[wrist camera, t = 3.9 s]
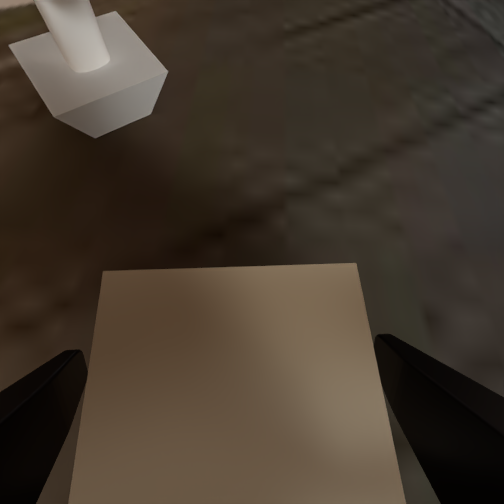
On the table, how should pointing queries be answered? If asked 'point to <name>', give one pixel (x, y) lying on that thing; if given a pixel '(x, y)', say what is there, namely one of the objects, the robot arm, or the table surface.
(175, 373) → the maple block
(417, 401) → the robot arm
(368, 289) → the table surface
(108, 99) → the figurine
